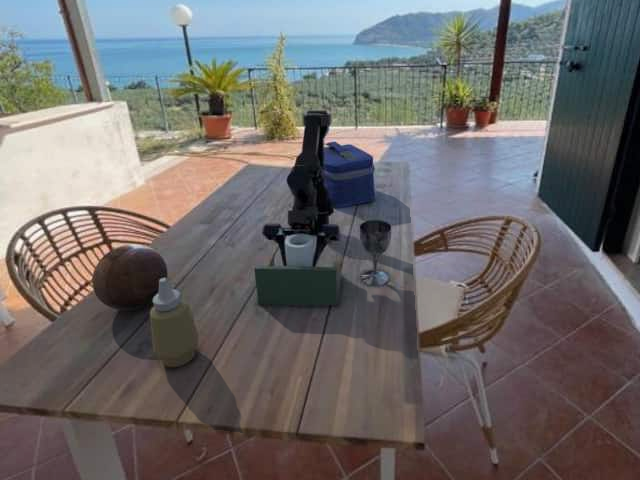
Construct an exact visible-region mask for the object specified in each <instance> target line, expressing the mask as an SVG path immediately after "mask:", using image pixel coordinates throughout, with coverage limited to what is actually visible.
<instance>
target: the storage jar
mask: <svg viewBox="0 0 640 480" xmlns="http://www.w3.org/2000/svg"><path fill="white" fill-rule="evenodd" d="M314 239H315V238H314V236H310V235H308V234H294V235H291V236H286V237H285V254H286V266H294V267H314V266H313V261H314V254H315V240H314Z"/></svg>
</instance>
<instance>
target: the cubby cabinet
mask: <svg viewBox="0 0 640 480" xmlns="http://www.w3.org/2000/svg"><path fill="white" fill-rule="evenodd" d="M275 256H276V253H275V252H268V253H267V255H266V257H265V259H264V261H263V263H262V265H255V267H254V277H255V279H254V280H255V287H256V294H257V295H256V296H257V304H258V306H259V305H262V306H265V305H267V306H312V307H313V306H315V307H338V303H339V296H340V290H341V289H340V288H341V282H342V281H341V279H342V257H343V254H342V253H335V255H334V259H333V266H316V267H294V266H284V265H276V263H275Z"/></svg>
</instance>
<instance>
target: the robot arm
mask: <svg viewBox="0 0 640 480" xmlns="http://www.w3.org/2000/svg"><path fill="white" fill-rule="evenodd" d="M301 118H302V121H301V123H302V127H304V130H303V136H302V137H303V138H302V144H301V145H302V146H301V150H300V151H301V152H300V153H299V154H298V155H297V156H296V157H295V161H294V165H292V167H291V169H290V173H288V175H287V177H286V184H287V186H288V188H289V191H290V193H291V195H292V196H293V203H292V207H291V210H290V209H289V210H287V224H288V226H289V227H282V225H281V224H280V223H275V222H274V223H273V222H272V223H265V224H264V225H263V227H262V231H261V234H262V236H264V237H265V239H266V240H268V241H273V242H274V243H275V244H277V245H278V248H279V251H280V255H281V260H282V266H286V254H285V239H286V238H287V237H289V236H291V235H294V234H308V235H310V236H312V237H316V242H315V243H316V244H315V247H314V261H313V266H314V267H317V264H318V262H319V260H320V258H321V255H322V253H323V252H324V250H325V249H326V247H327V245H331V244H332V242H339V241H341V229H340V226H339V225H338V224H337V223H330V216H332V215H333V214H334V213H335V211H334V207H333V202H332V201H331V198H329V192H328V190H327V188H326V187H325V185H324V147H325V138H326V136H327V135H328V133H329V132H330V126H331V125H332V114H331V113H328V110H327V109H307V110H306V113H301Z"/></svg>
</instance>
